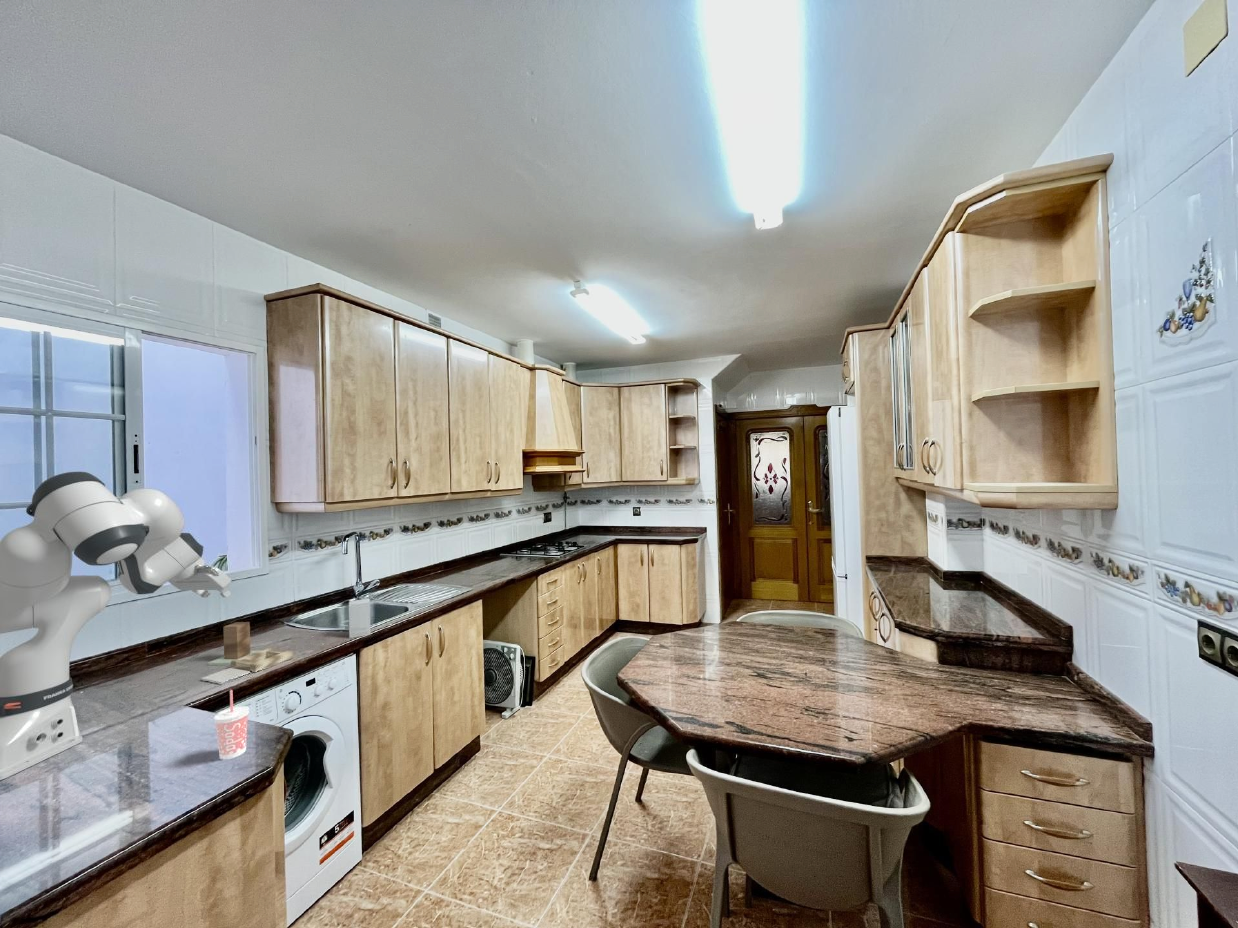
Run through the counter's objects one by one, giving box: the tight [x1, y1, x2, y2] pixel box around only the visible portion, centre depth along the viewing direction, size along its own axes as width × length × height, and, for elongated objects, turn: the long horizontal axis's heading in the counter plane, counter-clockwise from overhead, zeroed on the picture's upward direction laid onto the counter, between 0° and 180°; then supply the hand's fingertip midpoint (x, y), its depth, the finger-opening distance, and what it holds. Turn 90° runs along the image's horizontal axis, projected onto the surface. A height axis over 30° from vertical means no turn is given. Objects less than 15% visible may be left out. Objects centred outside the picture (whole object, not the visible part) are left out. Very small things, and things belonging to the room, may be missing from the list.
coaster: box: [207, 650, 260, 666], centre depth 167 cm, size 11×11×1 cm
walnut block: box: [223, 621, 251, 659], centre depth 167 cm, size 5×5×11 cm
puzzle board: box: [200, 647, 294, 683], centre depth 157 cm, size 21×12×2 cm, turn 159°
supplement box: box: [348, 598, 371, 639], centre depth 189 cm, size 7×7×13 cm
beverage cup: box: [213, 689, 250, 760], centre depth 108 cm, size 6×6×14 cm
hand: (217, 595), depth 157 cm, fingers open, 8 cm apart
